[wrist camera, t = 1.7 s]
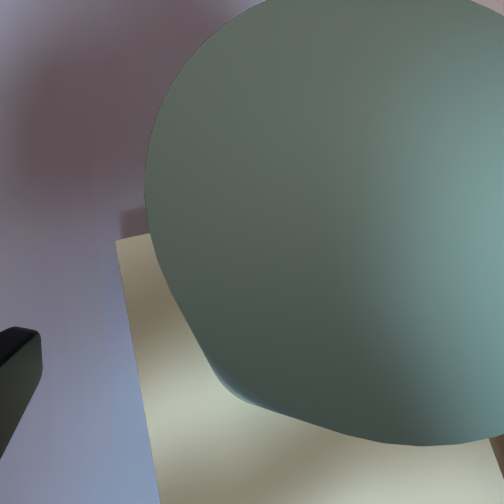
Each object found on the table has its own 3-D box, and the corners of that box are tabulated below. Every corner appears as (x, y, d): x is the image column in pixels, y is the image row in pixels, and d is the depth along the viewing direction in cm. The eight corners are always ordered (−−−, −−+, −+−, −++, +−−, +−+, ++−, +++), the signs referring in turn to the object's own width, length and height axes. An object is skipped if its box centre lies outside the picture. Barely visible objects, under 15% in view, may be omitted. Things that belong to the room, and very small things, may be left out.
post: (358, 388, 17) (744, 363, 4) (222, 424, 16) (207, 522, 4) (318, 258, 18) (521, -48, 6) (192, 287, 17) (106, 16, 5)
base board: (847, 601, 17) (960, 639, 14) (227, 837, 14) (227, 937, 11) (607, 146, 22) (658, 113, 19) (123, 252, 19) (106, 229, 17)
